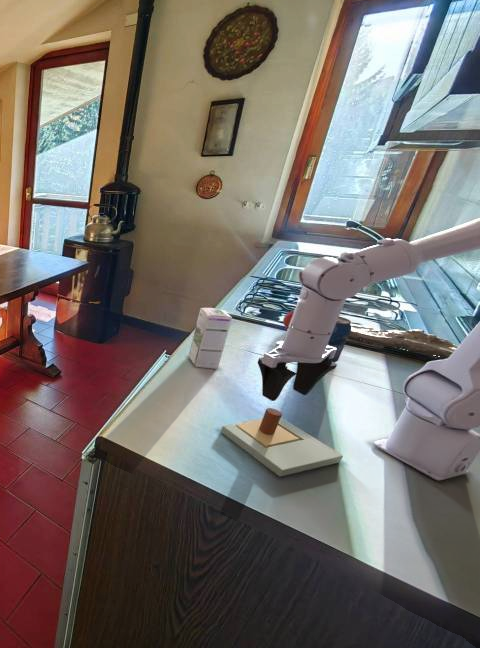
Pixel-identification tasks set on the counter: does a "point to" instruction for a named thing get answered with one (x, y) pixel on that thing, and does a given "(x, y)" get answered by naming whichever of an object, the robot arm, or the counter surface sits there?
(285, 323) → the red round piece
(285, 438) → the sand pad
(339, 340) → the soda can
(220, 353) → the syrup box
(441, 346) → the driftwood log
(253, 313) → the counter surface
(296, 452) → the notched mat
